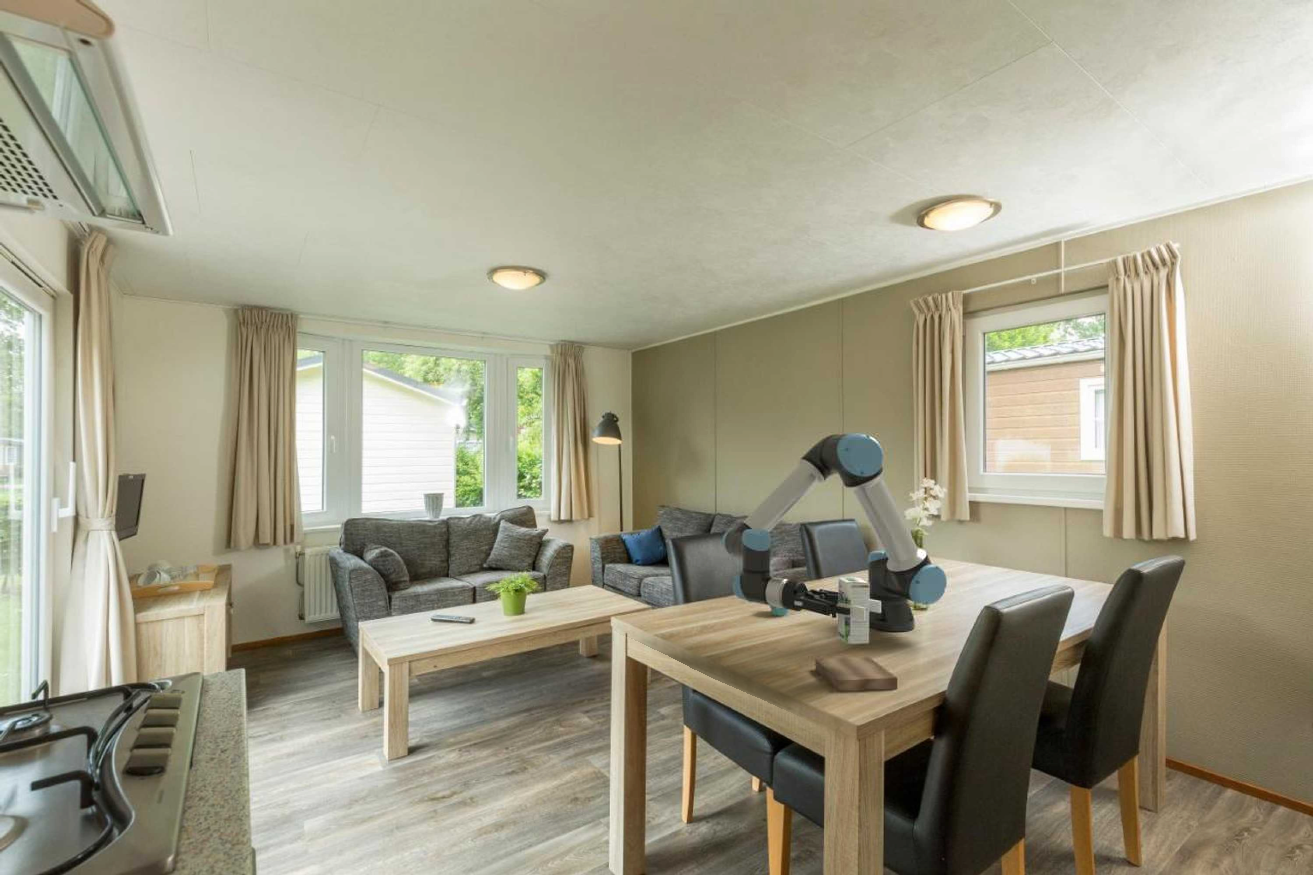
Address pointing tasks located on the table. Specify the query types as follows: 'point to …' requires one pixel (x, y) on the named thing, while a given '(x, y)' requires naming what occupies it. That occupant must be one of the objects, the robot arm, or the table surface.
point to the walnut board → (855, 674)
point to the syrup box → (856, 595)
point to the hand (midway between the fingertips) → (872, 610)
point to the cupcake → (778, 611)
